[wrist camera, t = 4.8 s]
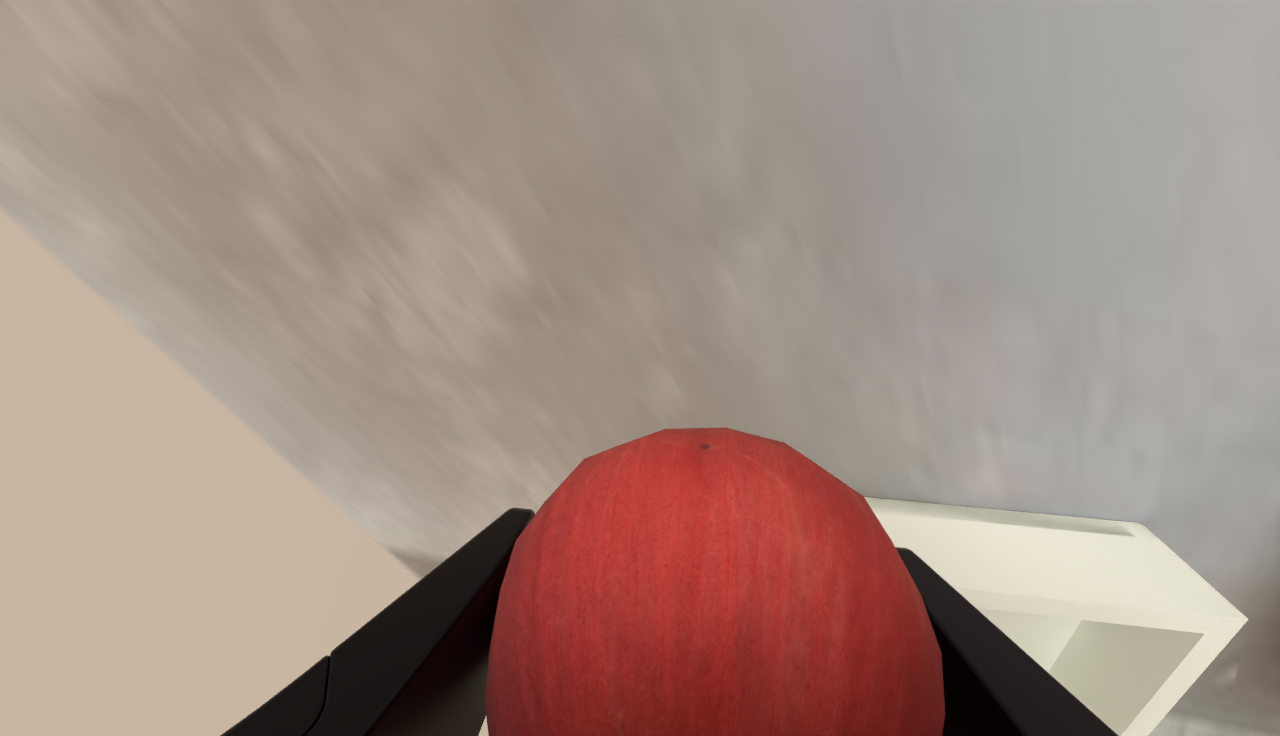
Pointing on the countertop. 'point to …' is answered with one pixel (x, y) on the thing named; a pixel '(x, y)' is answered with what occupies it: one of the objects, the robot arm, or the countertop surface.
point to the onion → (709, 602)
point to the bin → (1078, 600)
